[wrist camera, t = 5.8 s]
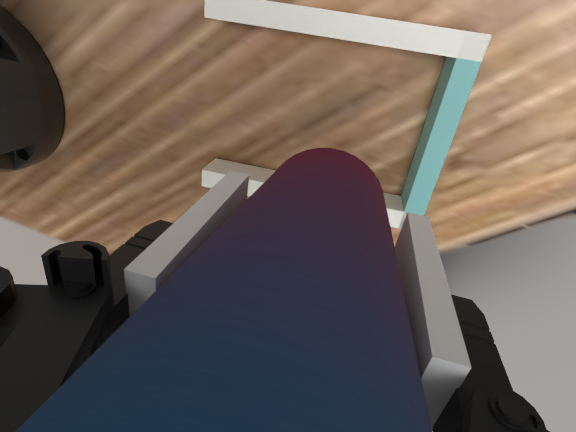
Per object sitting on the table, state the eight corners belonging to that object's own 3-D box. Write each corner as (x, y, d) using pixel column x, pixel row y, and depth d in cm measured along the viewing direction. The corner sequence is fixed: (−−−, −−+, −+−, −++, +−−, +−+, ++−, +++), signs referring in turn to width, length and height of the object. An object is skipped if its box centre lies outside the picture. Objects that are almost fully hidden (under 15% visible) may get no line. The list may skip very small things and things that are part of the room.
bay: (214, 173, 32) (201, 186, 30) (221, -6, 25) (204, -9, 23) (413, 214, 30) (417, 232, 28) (477, 34, 24) (491, 34, 21)
